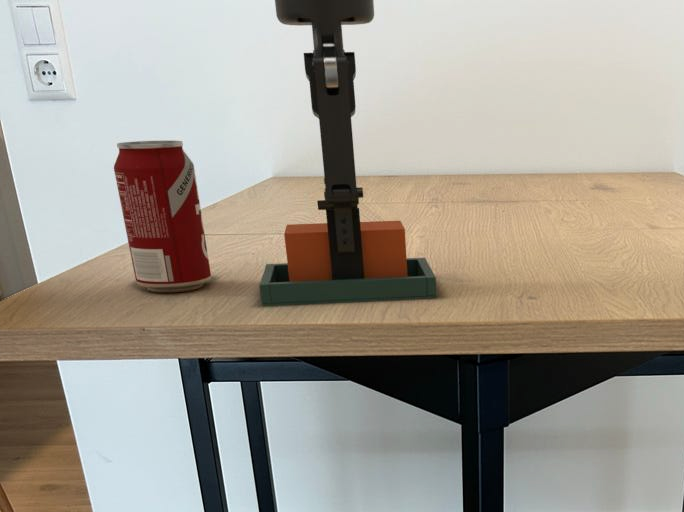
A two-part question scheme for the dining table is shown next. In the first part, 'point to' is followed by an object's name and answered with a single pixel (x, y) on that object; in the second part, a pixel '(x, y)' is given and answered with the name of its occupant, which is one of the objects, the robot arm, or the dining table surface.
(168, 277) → the soda can
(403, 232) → the orange rectangular block
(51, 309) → the dining table surface
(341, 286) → the dark green tray
